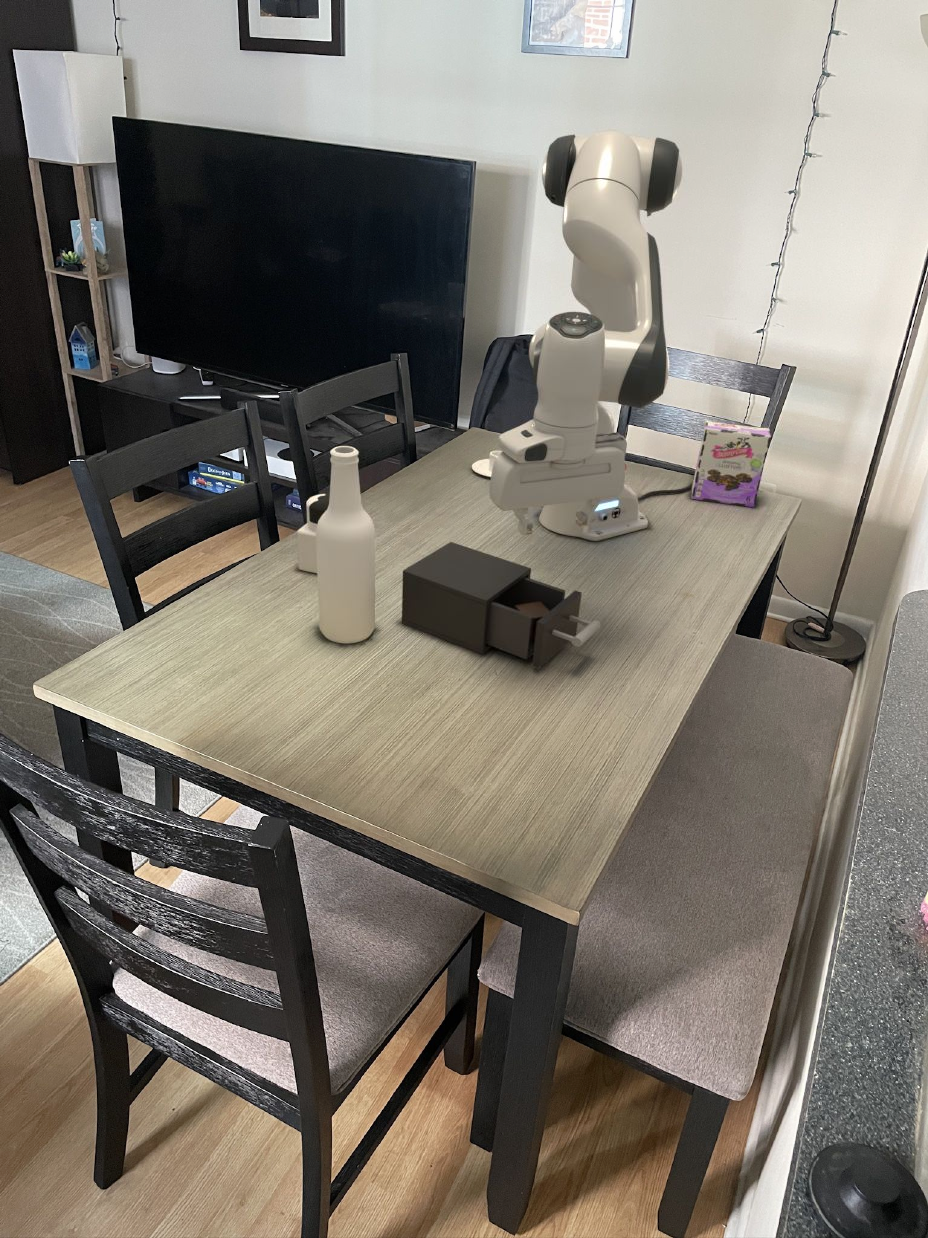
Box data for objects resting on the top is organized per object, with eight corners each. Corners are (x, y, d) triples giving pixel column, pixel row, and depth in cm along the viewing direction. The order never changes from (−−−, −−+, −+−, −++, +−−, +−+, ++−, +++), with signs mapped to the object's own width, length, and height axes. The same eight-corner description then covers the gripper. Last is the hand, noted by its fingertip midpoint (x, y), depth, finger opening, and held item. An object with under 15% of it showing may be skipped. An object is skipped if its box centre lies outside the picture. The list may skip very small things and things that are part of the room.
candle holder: (474, 459, 212) (475, 442, 210) (524, 464, 211) (526, 446, 209) (469, 478, 202) (470, 459, 199) (522, 482, 201) (523, 464, 199)
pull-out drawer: (604, 645, 140) (611, 602, 136) (568, 680, 131) (574, 635, 127) (499, 607, 149) (502, 565, 145) (458, 637, 140) (460, 594, 136)
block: (537, 625, 142) (540, 601, 140) (550, 639, 139) (553, 614, 137) (512, 630, 141) (514, 605, 138) (524, 644, 137) (527, 619, 135)
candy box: (690, 499, 197) (704, 427, 189) (691, 489, 202) (704, 419, 194) (754, 508, 195) (771, 435, 187) (753, 498, 200) (770, 427, 192)
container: (355, 560, 163) (355, 494, 157) (337, 578, 157) (335, 510, 150) (317, 552, 165) (315, 487, 159) (297, 570, 159) (294, 502, 152)
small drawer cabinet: (526, 619, 148) (531, 568, 143) (482, 654, 138) (486, 600, 133) (448, 591, 155) (450, 541, 150) (401, 622, 145) (402, 570, 140)
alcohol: (385, 636, 141) (386, 455, 126) (334, 650, 137) (329, 464, 121) (359, 612, 147) (358, 436, 132) (310, 624, 143) (302, 444, 128)
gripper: (616, 424, 129) (604, 511, 136) (487, 436, 122) (482, 528, 129) (640, 438, 124) (626, 528, 131) (507, 452, 117) (500, 547, 124)
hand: (553, 528), depth 130 cm, fingers open, 8 cm apart
